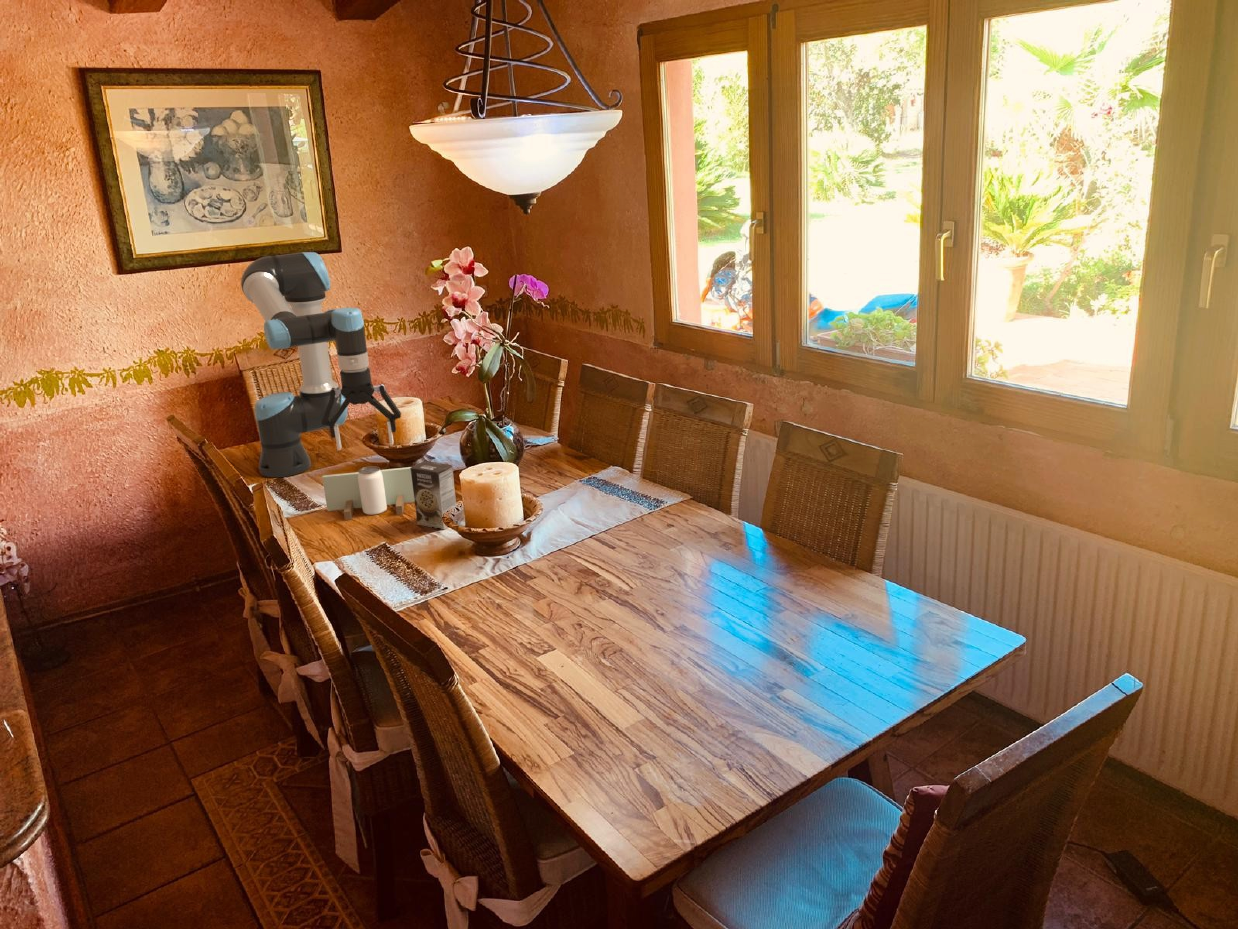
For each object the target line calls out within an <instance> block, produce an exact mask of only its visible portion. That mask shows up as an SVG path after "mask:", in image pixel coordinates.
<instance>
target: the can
mask: <svg viewBox="0 0 1238 929" xmlns="http://www.w3.org/2000/svg"><path fill="white" fill-rule="evenodd" d="M380 470H381V468H380V467H379V466H376V465H374V466H373V465H371V466H365V467H362V468H359V469H358V471H357V472H359V474H358V483H359V489H360V496H361V503H362V508H361V509H362V513H363V514H365V515H366V516H367V515H368V516H376V515H380V514H383V513H385V512H386V511H387V509H388V505H387V504H386V497H385V490H384V483H383V476H382V472H381V471H380Z"/></svg>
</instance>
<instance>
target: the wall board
mask: <svg viewBox="0 0 1238 929" xmlns="http://www.w3.org/2000/svg"><path fill="white" fill-rule="evenodd" d="M411 467H412V466H408V467H399V468H388V469H387V468H386V469H380V471H381V472H382V476H383V483H384V490H385V497H386V504H387V506H391V505H395V512H396V516H401V515H404V506H405V504H411V503H415V500H414V492H413V484H412V476H411V469H410V468H411ZM358 474H359V472H358V471H356V472H348V473H347V472H346V473H345V472H344V473H336V474H328V475H327V474H325V475H322V478H321V480H322V485H323V490H324V496H325V498H324V499H325V503H326V509H327V512H332V511H342V510H343V518H344V521H351V520H352V518H353V515H354V514H353V513H354V509H362V503H361V496H360V489H359V483H358Z"/></svg>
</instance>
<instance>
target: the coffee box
mask: <svg viewBox="0 0 1238 929" xmlns="http://www.w3.org/2000/svg"><path fill="white" fill-rule="evenodd" d="M410 467H411V468H410V469H411V476H412V484H413V492H414V500H415V502H414V507H415V515H416V521H417V522H416V524H417V525H419V526H425V527H429V528H432V527H434V528H433V529H437V528H441V529H440V530H442V529H445V528H446V529H448V528H449V527H446V526H445V524H444V523H443V520H442V517H443V514H444V513H446V512H447V511H448V510H451V509H453V508H454V507H456V508H457V500H456V499H457V498H456V490H455V480H454V470H453V464H448V463H442V462H436V461H429V460H424V461H422V462H419V463H416V464H415V465H413V466H410ZM446 529H445V530H446Z"/></svg>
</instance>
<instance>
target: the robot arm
mask: <svg viewBox="0 0 1238 929" xmlns="http://www.w3.org/2000/svg"><path fill="white" fill-rule="evenodd" d="M330 280H331V279H330V276H329V272H328V269H327V266H326V264H325V262H324V260H323V258H322V257H321V255H320V254H318V253H317V252H314V251H308V252H307V251H306V252H302V251H301V252H295V253H293V252H292V253H286V254H277V255H267V256H262V257H259V258H257V259H256V260H254V261H253V262H251V263H250V264H249V265H248V266H247V267H246V269H245V270H244V271H243V273H242V276H241V280H240V282H241V283H240V287H241V290H242V292H243V294H244V296H245V298H246V299H247V300H248V301H249V302H250V303H252V304H254V305H255V307H256V308H257V310H258V311H259V313H260V315H261V316H262V318H263V319H264V324H263V332H264V338H265V341H266V343H267V346H268V347H269V348H270V349H271V350H279V349H280V350H281V349H282V350H286V349H290V348H295V347H297V349H298V350H297V351H298V356H299V362H300V370H301V375H302V376H301V377H302V381H303V382H302V383H303V384H301V385H300V387H299V395H294V394H293V393H292V392H290V391H283V392H281V391H280V392H276V393H271V394H268V395H266V396H263V397H261V398H260V399H258V400H257V401H256V402H255V403H254V414H255V415H254V418H255V421H256V425H257V430H258V436H259V440H260V441H259V443H260V447H261V451H260V456H259V462H258V463H259V464H258V470H259V474H261V476H263V477H267V478H283V477H284V478H285V477H291V476H295V475H298V474H302V473H304V472H306V471H307V470H309V469H310V468H311V467H312V464H311V463H312V462H311V458H310V455H309V454H308V452H307V450H306V449H305V447H304V445H303V442H302V438H301V434H305V433H311V432H315V431H322V430H325V429H326V430H327V429H329V430H330V431H329V432H330V437H331V438H332V439H333V438H334V439H335V442H336V449H337V451H341V450H342V441H341V440H342V439H341V435H340V429H339V427H340V426H342V425H344V424H345V422H346V420H347V416H348V406H349V405H350V404H351V405H354V406H355V405H359V404H361V405H366V403H368V404H370V405H371V406H372V407H374V408H375V409H376V410H378V412H380V413H381V414H382V415H383V416H384V417H385V418H387V421H386V424H387V433H388V438H389V446H394V436H393V435H394V434H393V433H396V430H397V427H396V425H397V424H396V420H397V419H400V418H402V412H401V410H400V409H399V408H398V407H397V405H396V404H395V402H394V401H393V399H392V397H391V396H390V395H389V393H388V392H387V389H386V386H385V384H384V383H380V384H379V385H374V384H373V383H372V376H371V370H370V368H369V366H370V362H369V361H370V360H369V353H368V349H367V348H368V347H367V341H366V333H365V332H366V331H365V326H364V325H365V320H364V319H363V315H362V314H363V313H362V311H361V309H360V308H357V307H340V308H332V309H331V308H330V309H327V310H326V311H324V312H323V306H322V303H323V302H324V301H325V299H327V297H326V292H328V291H330V290H331V281H330ZM330 342H334V343H335V347H336V356H337V361H338V368H339V370H340V371H339V374H340V375H339V376H340V381H341V387H339V383H337V382H336V381H335V380H334V379H333V374H332V367H331V361H330V354H329V347H328V343H330ZM374 392H376V393H377V394H378V395H381V397H382V399H383V400H384V402H385V403H386V405H387V406H388V407H389V409H390V410H391V411H390V410H389V409H387V408H386V406H384V405H383V404H382V403H381V402H380V401H379V400H377V398H376V397H375V396H374Z"/></svg>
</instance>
